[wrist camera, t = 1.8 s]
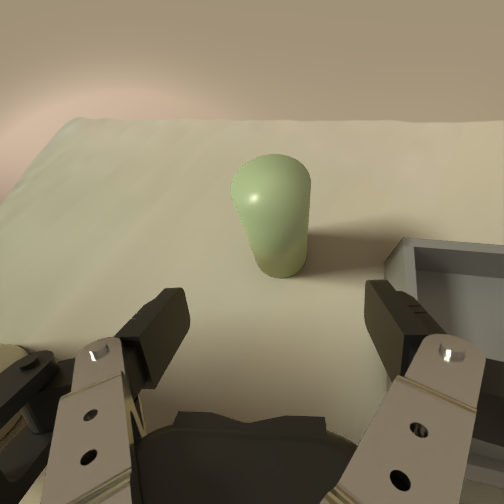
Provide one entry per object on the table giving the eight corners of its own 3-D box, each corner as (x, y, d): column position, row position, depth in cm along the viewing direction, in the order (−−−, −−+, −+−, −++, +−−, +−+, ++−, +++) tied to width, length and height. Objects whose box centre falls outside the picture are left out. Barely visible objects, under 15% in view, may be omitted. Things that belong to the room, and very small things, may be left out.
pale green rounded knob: (251, 275, 26) (222, 215, 16) (260, 230, 28) (239, 153, 18) (303, 281, 25) (306, 221, 15) (308, 234, 27) (314, 154, 17)
